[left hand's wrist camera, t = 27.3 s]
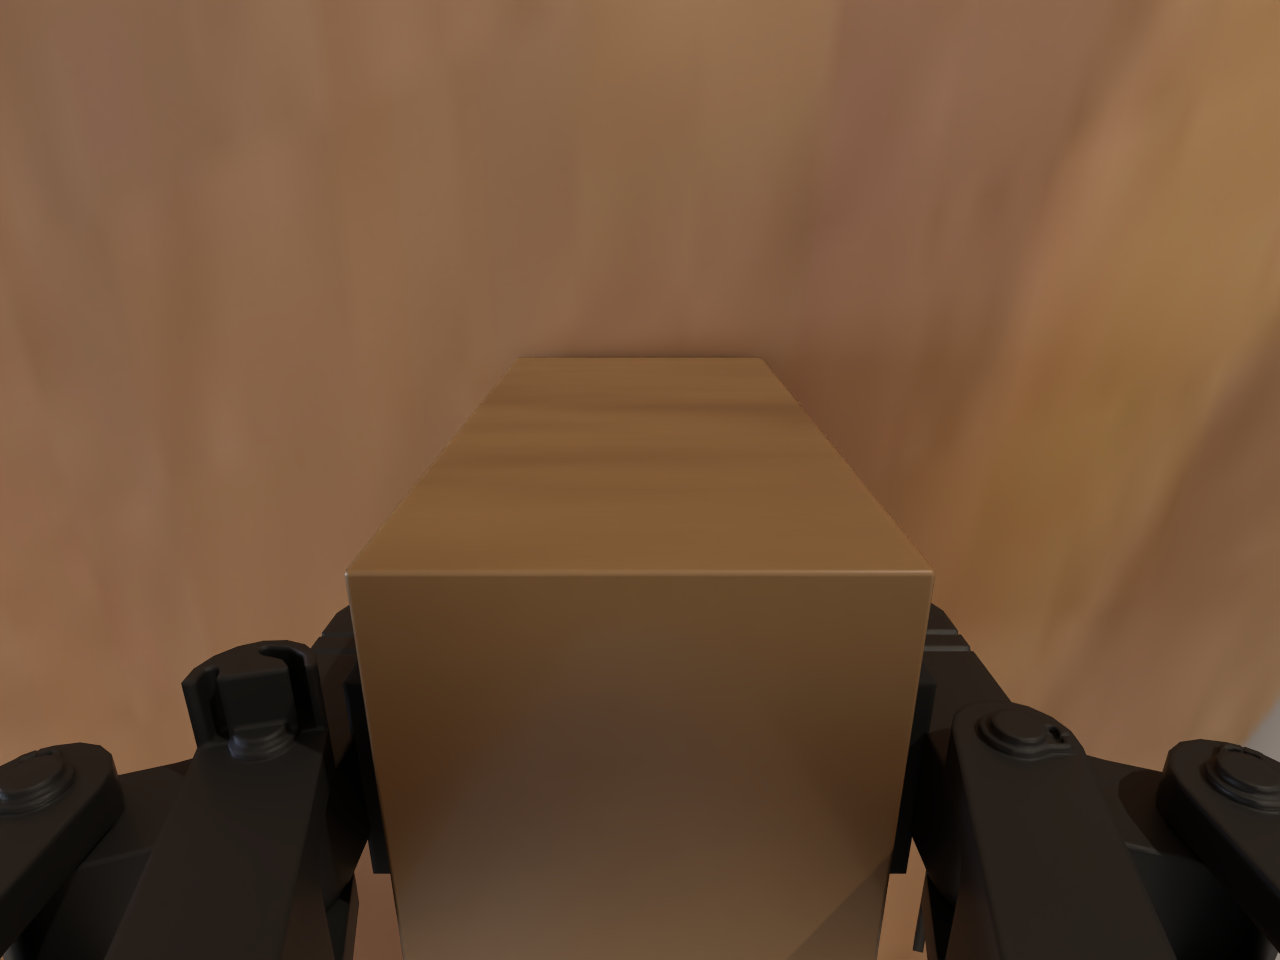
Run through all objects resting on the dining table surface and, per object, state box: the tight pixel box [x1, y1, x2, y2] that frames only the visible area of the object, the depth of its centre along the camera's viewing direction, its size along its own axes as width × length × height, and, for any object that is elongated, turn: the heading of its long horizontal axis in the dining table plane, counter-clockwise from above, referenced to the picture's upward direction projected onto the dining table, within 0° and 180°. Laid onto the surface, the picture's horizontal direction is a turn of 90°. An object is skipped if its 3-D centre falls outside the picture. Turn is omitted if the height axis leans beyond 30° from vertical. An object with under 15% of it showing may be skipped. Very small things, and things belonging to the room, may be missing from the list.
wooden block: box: [345, 358, 935, 960], centre depth 12 cm, size 7×5×9 cm
